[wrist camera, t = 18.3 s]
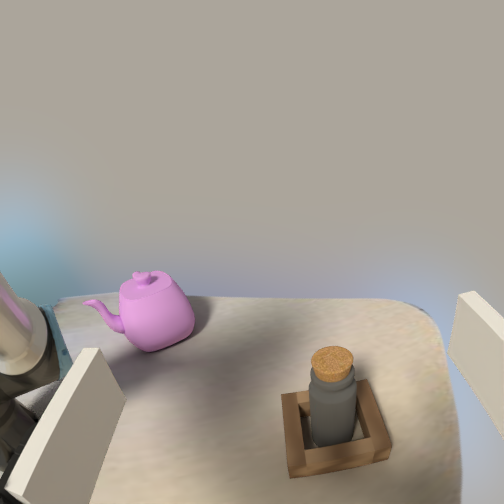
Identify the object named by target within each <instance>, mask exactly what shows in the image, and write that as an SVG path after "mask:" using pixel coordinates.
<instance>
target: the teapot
mask: <svg viewBox="0 0 504 504" xmlns="http://www.w3.org/2000/svg"><path fill="white" fill-rule="evenodd" d="M132 277H133V279H130V280H128V281H126V282H124V283H123V284H122V285H121V287H120V293H119V315H120V316H119V315H113V314H111V313H110V312H109V311H108V309H107V308H106V306H105V305H104V304H103V303H102V302H101V301H99V300H89V301H85V302H83V303H82V304H84V305H89V306H92V307H94V308H95V309H96V310H97V311H98V312H99V313H100V314H101V316H102V317H103V319H104V321H105V322H106V324H107V325H108V326H109V327H110V328H111V329H112V330H114V331H115V332H118V333H123V334H125V336H126V337H127V339H128V340H129V341H130V342H131V343H132V344H133V345H135V346H136V347H137V348H139V349H141V350H142V351H145V352H152V351H156V350H159V349H162V348H165V347H167V346H170V345H172V344H174V343H176V342H179V341H181V340H183V339H184V338H186V337H188V336H189V335H190V334H191V333H192V331H193V328H194V324H195V316H194V313H193V310H192V307H191V305H190V303H189V301H188V299H187V297H186V296H185V294H184V292H183V291H182V290H181V288H180V287H179V286H178V285H177V283H176V282H175V281H174V280H173V279H172V278H171V277H170V276H169V275H168V274H166V273H164V272H162V271H153V272H142V273H140V272H138V271H137V272H134V273H133V275H132Z"/></svg>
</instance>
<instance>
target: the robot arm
mask: <svg viewBox="0 0 504 504" xmlns="http://www.w3.org/2000/svg"><path fill="white" fill-rule="evenodd" d="M447 354H448V355H449V357H450V358H451V359H452V361H453V362H454V364H455V365H456V366H457V368H458V369H459V371H460V372H461V374H462V375H463V377H464V378H465V380H466V381H467V383H468V384H469V386H470V387H471V388H472V390H473V392H474V393H475V394H476V396H477V397H478V399H479V401H480V402H481V404H482V405H483V407H484V408H485V410H486V412H487V413H488V415H489V417H490V418H491V420H492V421H493V423H494V425H495V426H496V428H497V430H498V431H499V433H500V435H501V436H502V438H503V440H504V318H503V317H502V316H501V315H500V314H499V313H498V312H497V311H495V310H494V309H493V308H492V307H491V306H490V305H489V304H488V303H487V302H486V301H485V300H484V299H483V298H482V297H481V296H479V295H478V294H477V293H476V292H475V291H470V292H467V293H463V294H459V295H458V301H457V307H456V312H455V318H454V323H453V328H452V333H451V338H450V343H449V348H448V352H447ZM65 376H66V377H65ZM63 377H65V378H64V380H63V381H62V383H61V385H60V386H59V388H58V390H57V391H56V393H55V395H54V396H53V398H52V400H51V401H50V403H49V405H48V406H47V408H46V410H45V412H44V413H43V415H42V417H41V419H40V418H39V417H38V416H37V415H36V414H35V413H34V412H33V411H31V410H30V409H28V408H27V407H26V406H24V405H23V404H22V403H21V402H19V401H18V400H17V399H15V397H18V396H20V395H23V394H25V393H27V392H30V391H32V390H35V389H37V388H40V387H42V386H45V385H47V384H49V383H52V382H54V381H59V380H61V379H62V378H63ZM126 400H127V399H126V398H125V396H124V394H123V392H122V390H121V389H120V387H119V385H118V383H117V381H116V379H115V378H114V376H113V374H112V372H111V370H110V368H109V366H108V364H107V362H106V360H105V358H104V356H103V354H102V352H101V350H100V348H83V350H82V351H81V353H80V354H79V356H78V358H77V359H76V361H75V362H74V364H73V362H72V359H71V357H70V354H69V352H68V349H67V347H66V344H65V342H64V339H63V336H62V334H61V331H60V328H59V325H58V322H57V320H56V317H55V314H54V311H53V308H52V306H51V305H49V304H46V305H39V306H38V307H37V306H36V305H35V304H33V303H32V302H30V301H29V300H27V299H24V298H20V297H17V295H16V294H15V293H14V292H13V290H12V288H11V287H10V285H9V284H8V282H7V281H6V280H5V278H4V277H3V275H2V274H1V272H0V471H3V472H4V473H3V475H2V477H1V479H0V504H89V502H90V499H91V496H92V493H93V490H94V487H95V484H96V481H97V478H98V475H99V472H100V470H101V467H102V464H103V461H104V458H105V455H106V453H107V450H108V447H109V444H110V442H111V439H112V436H113V434H114V431H115V428H116V426H117V423H118V420H119V418H120V415H121V413H122V410H123V407H124V405H125V402H126Z"/></svg>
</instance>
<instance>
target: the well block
mask: <svg viewBox="0 0 504 504" xmlns="http://www.w3.org/2000/svg"><path fill="white" fill-rule="evenodd" d="M356 384H357V392H356V408H355V409H356V412H357V415H358V419H359V422H360V425H361V428H362V432H363V435H364V438H365V439H361V440H356V441H352V442H347V443H342V444H337V445H332V446H326V447H321V448H315V449H309V450H304V443H303V435H302V428H301V421H300V417H306V416H311V415H310V402H309V390H308V391H301V392H295V393H288V394H281V398H282V409H283V419H284V430H285V442H286V453H287V464H288V471H289V476H290V479H291V478H299V477H306V476H312V475H319V474H325V473H330V472H335V471H340V470H345V469H350V468H355V467H359V466H363V465H367V464H372V463H375V462H379V461H383V460H387V459H388V458H389V454H390V451H391V447H392V445H391V442H390V439H389V436H388V433H387V431H386V428H385V425H384V423H383V420H382V417H381V415H380V412H379V409H378V407H377V404H376V401H375V399H374V396H373V394H372V391H371V388H370V386H369V383H368V381H367V379H365V380H360V381H356Z"/></svg>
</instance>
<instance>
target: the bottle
mask: <svg viewBox="0 0 504 504" xmlns="http://www.w3.org/2000/svg"><path fill="white" fill-rule="evenodd" d="M352 363H353V355H352V354H351V352H350V351H349V350H347V349H345V348H343V347H339V346H329V347H325V348H322V349H320V350H318V351H317V352H316V353H315V354H314V355H313V356H312V359H311V364H312V369H311V382H310V384H309V402H310V415H311V429H312V438H313V441H314V443H315V444H316V445H317V446H318V447H320V448H321V447H326V446H332V445H337V444H342V443H347V442H350V440H351V439H352V436H353V429H354V420H355V408H356V392H357V384H356V381H355V379H354V374H355V370H354V366H353V364H352Z"/></svg>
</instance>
